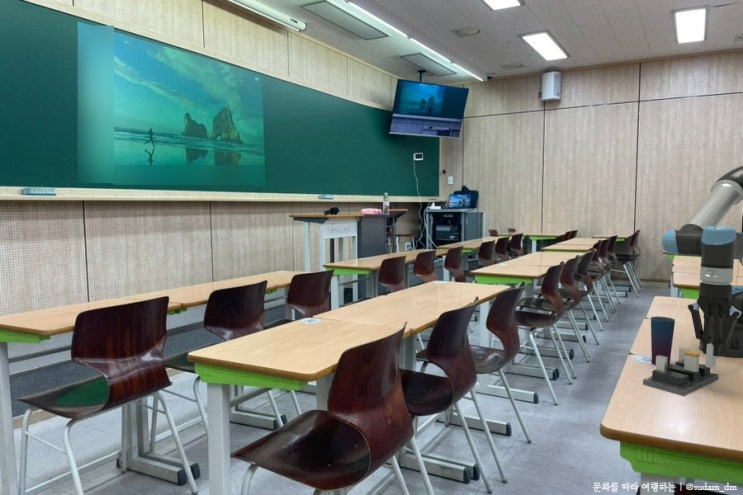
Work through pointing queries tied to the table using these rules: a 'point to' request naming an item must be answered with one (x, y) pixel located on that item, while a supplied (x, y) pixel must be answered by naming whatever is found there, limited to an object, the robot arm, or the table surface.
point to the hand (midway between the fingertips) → (710, 366)
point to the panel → (679, 376)
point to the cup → (661, 337)
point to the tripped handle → (691, 361)
